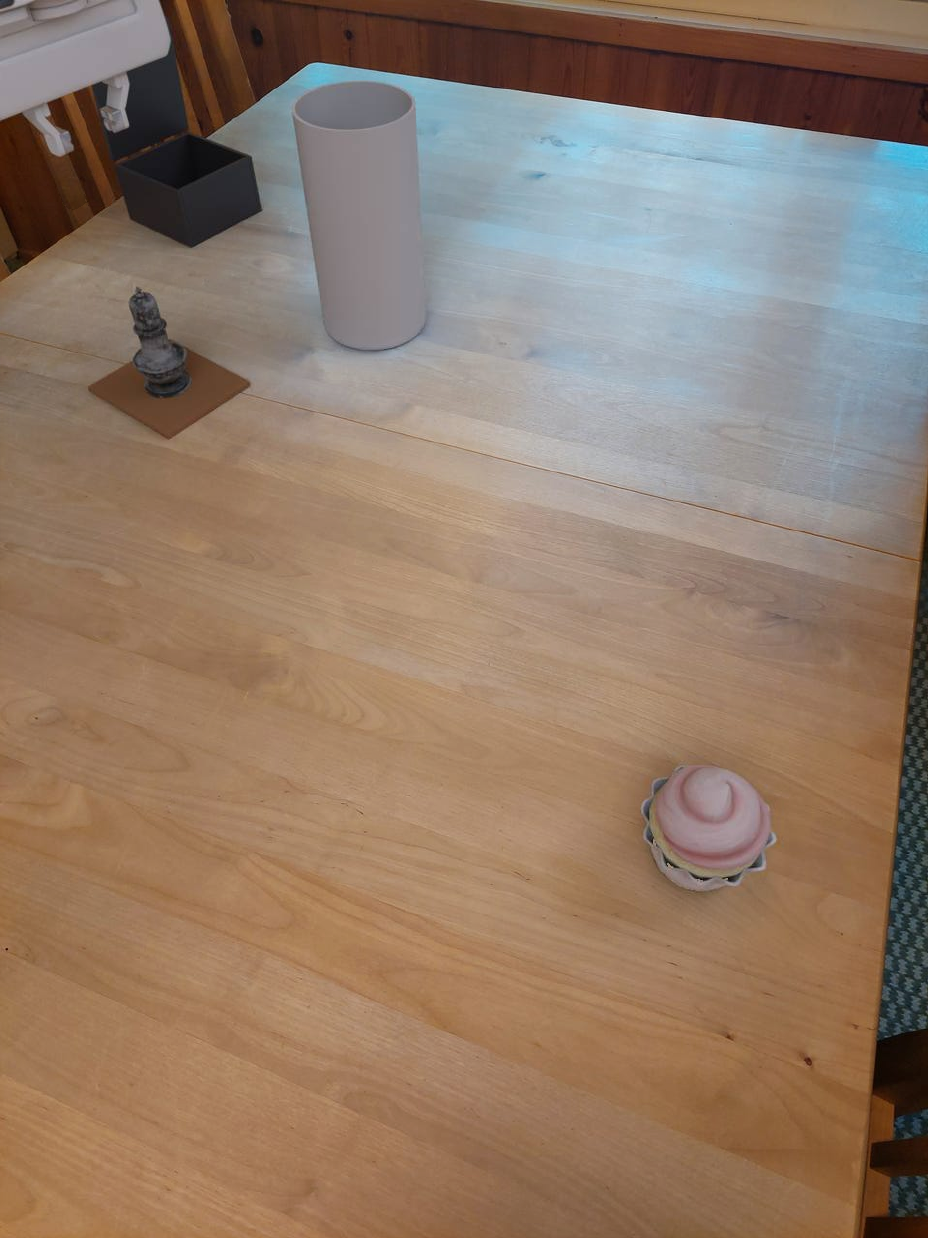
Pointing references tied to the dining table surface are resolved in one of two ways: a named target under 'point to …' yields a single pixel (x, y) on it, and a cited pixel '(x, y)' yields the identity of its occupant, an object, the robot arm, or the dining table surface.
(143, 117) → the dark hinged lid
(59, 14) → the robot arm
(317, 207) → the cylinder vase
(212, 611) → the dining table surface
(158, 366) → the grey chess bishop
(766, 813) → the cupcake
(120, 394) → the cork mat
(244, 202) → the dark open-top box
